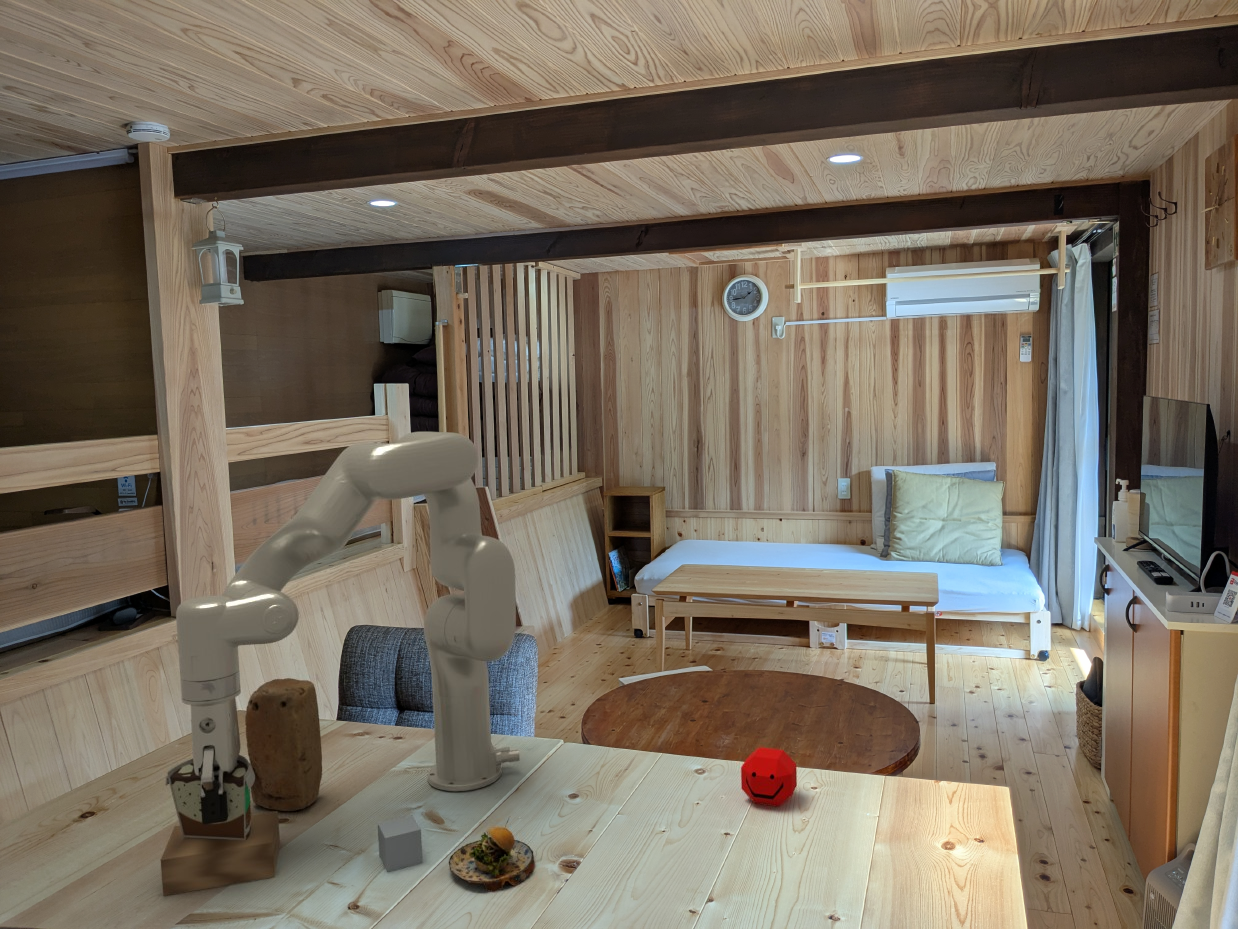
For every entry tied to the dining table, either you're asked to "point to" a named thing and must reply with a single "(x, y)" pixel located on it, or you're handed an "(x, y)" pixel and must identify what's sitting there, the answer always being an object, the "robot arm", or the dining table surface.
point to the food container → (189, 801)
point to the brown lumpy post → (284, 744)
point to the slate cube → (400, 843)
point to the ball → (769, 776)
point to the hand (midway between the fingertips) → (219, 809)
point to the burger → (493, 860)
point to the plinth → (221, 858)
